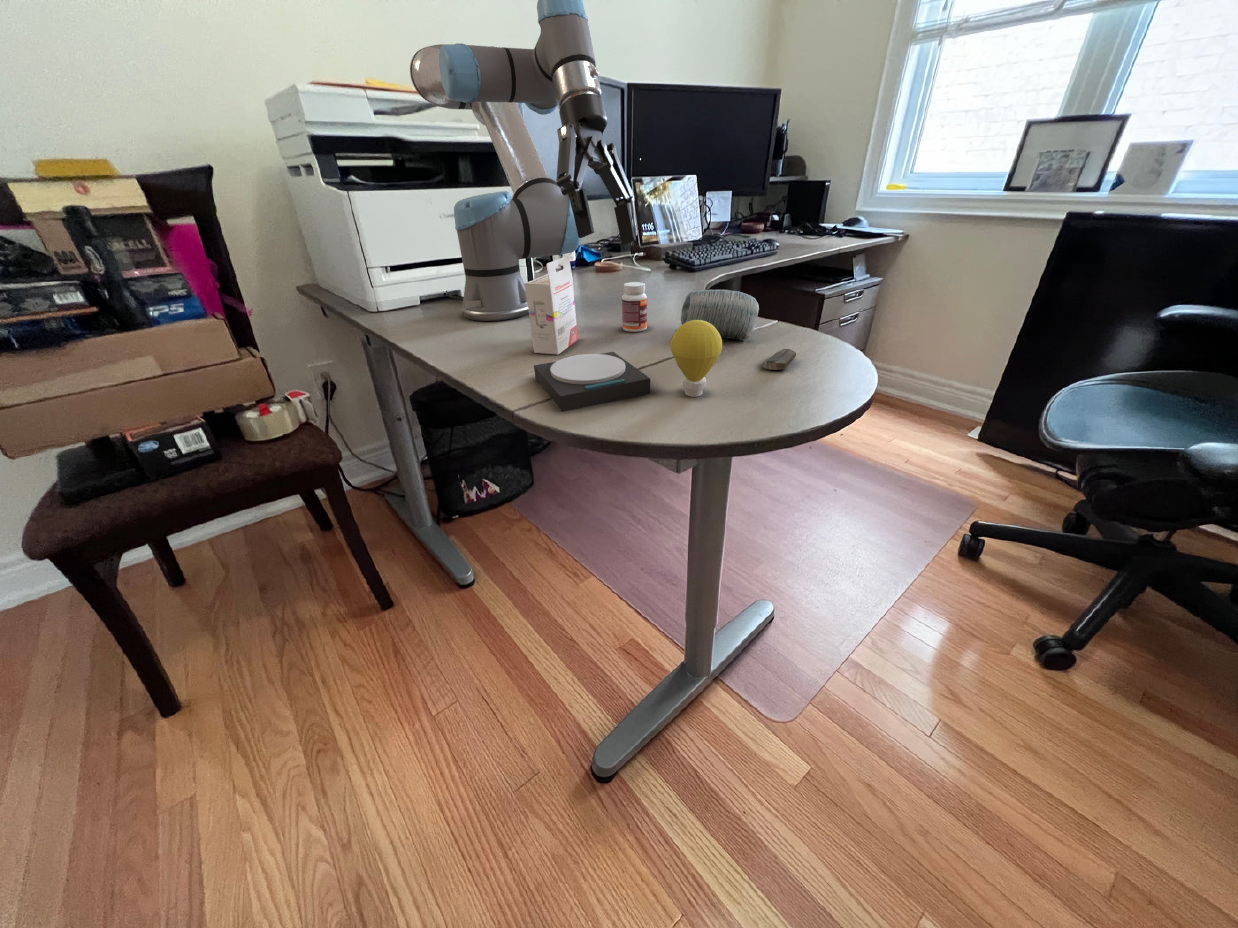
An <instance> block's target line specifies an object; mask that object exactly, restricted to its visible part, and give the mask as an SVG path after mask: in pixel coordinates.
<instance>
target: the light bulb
mask: <svg viewBox="0 0 1238 928" xmlns="http://www.w3.org/2000/svg"><path fill="white" fill-rule="evenodd" d="M722 349H723V338H722V337H721V336H720V334H719V332H718V331H717V329H716V328H715V327H714V326H713V325H712V324H710V323H708V322H706V321H703V320H692V321H688V322H686V323H684V324H683V325H682V324H681V325H680V326H679V327H678V328H677V329H676V330H675V331H674V334H673V335H672V337H671V341H670V351H671V352H670V353H671V354H672V357H673V358H674V361H675V363H676V366H677V367H678V368H679V370H680V371H681V373H682V374H683V376H684V377H682V381H681V383H682V385H681V386H682V388H684V389H685V390H684V394H685V395H686V396H688V397H692V398H693V397H695V398H697V397H700V396H702V395H703V389H705V388H706V387H707V378H706V377H705V376H706V375H707V374H708V373H709V371H711V369H712V368H713V366H714V365H715V364H716V362H717V360H718V358H719V357H720V355H721V353H722Z"/></svg>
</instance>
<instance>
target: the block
mask: <svg viewBox="0 0 1238 928" xmlns="http://www.w3.org/2000/svg"><path fill="white" fill-rule="evenodd" d="M796 356H797V352H796V351H794V350H792V349H790V348H782V349H780V350H779V351H776V352H775V353H773V354H772V355H771V356H770V357H768V358H767V359H766V360H764V361H763V362H762V368H764V369H766V370H770V371H779V370H785V369H787V368H788V367H789V365H791V364H792V362H793V361H794V360H795V359H796Z"/></svg>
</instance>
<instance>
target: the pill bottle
mask: <svg viewBox="0 0 1238 928" xmlns="http://www.w3.org/2000/svg"><path fill="white" fill-rule="evenodd" d="M621 314H622V317H621V318H622V319H621V320H622V329H623V331H625V332H631V333H638V332H642V331H643V332H644V331H645V330H647V328H648V296H647V294H646V284H645V283H644V282H639V281H629V282H625V283H624V284H623V294H622V296H621Z"/></svg>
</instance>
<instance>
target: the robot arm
mask: <svg viewBox="0 0 1238 928" xmlns="http://www.w3.org/2000/svg"><path fill="white" fill-rule="evenodd" d="M536 11H537V22H538V23H537V24H538V25H539V28H540V34H539V37H538V39H537V41H536V43H535V46H534V48H522V47H521V48H520V47H519V48H517V47H503V46H502V47H500V46H491V45H490V46H487V45H476V44H475V45H474V44H465V43H451V44H450V43H449V44H448V43H447V44H445V43H443V44H442V43H440V44H432V45H428V46H425V47H422V48H420V49H418V50H417V51H416V52H415V53H414V54H413V56H412V58H411V60H410V63H409V64H410V65H409V76H410V80H411V83H412V85H413V87H414V89H415V92H417V93H418V95H419V96H420V97H421V98H422V99H423V100H425V101H426V102H428V103H430V104H432V105H434V106H437V107H439V108H442V109H443V108H444V109H448V110H472V114H473V115H474V117H475V119H476V120H477V121H478V123H480V124H481V125H483V126H485V129H486V130H487V132H488V136H489V137H490V140H491V143H492V145H493V147H494V150H495V152H496V154H497V157H498V159H499V162H500V164H501V166H502V169H503V171H504V174H505V176H506V179H507V181H508V183H509V186H510V188H511V191H512V193H513V194H512V195H511V194H510V192H509V191H508V190H502V191H494V192H488V193H483V194H478V195H473V196H469V197H466V198H465V197H464V198H462V199H460V200H458V201H456V203H455V204H454V206H453V215H454V228H455V231H456V234H457V239H458V244H459V250H460V255H461V261H462V266H463V273H464V277H465V282H464V290H463V297H462V296H456V295H452V294H451V293H449V294H446V293H444V294H443V293H442V296H447V297H448V298H449V299H451V300H458V301H462V307H461V308H462V313H463V317H465V318H466V319H468V320H473V321H477V322H478V321H479V322H480V321H481V322H496V321H507V320H513V319H517V318H521V317H524V316H526V315H529V311H528V305H527V297H526V291H525V285H524V283H525V282H524V280H523V279H524V278H523V277H522V274H521V268H520V260H525V259H526V260H527V259H535V258H543V257H551V256H559V257H560V256H563V255H566V254H572V253H574V252H576V251H577V249H578V248H579V246H580V243H581V240H582V238H583V239H584V238H585V237H588V236H590V235H592V234H595V228H594V223H593V219H592V215H591V210H590V205H589V200H588V197H587V191H586V189H585V188H582V185H583V182H584V177H585V174H586V171H587V168H590V169H592V170H593V172H594V173H595V174H596V175H598V176H599V177H600V179H601V181H602V183H603V185H604V186H605V188H606V190H607V191H608V194H609V195H610V197H611V199H612V201H613V202H614V204H615V207H613V210H614V214H615V219H616V224H617V229H618V234H619V239H620V245H621V246H625V245H628V244H630V243H633V242H636V241H637V238H636V233H635V229H634V224H633V218H632V214H631V208H630V204H631V203H634V201H635V196H634V193H633V191H632V188H631V186H630V183H629V180H628V178H627V176H626V173H625V171H624V168H623V166H622V164H621V161H620V157H619V155H618V151H617V148H616V145H615V143H614V142H613V141H611V142H610V143H606V141H605V138H604V135H603V134H604V131H605V130H606V128H607V126H608V117H607V111H606V107H605V103H604V100H603V98H602V96H603V95H602V93H603V92H602V89H601V85H600V79H599V74H600V72H599V70H598V68H597V65H596V58H595V52H594V46H593V42H592V37H591V32H590V26H589V18H588V16H587V15H586V9H585V6H584V2H583V0H537V2H536ZM522 104H524V105H525V106H526V107H527V108H528V109H529V110H531V111H532V112H535V113H536V114H538V115H541V116H546V115H549V114H551V113H554V111H555V110H556V109H557V108H558V110H559V112H558V113H559V118H560V123H561V126H560V127H559V128H557V130H556V131H557V138H558V151H557V152H558V154H557V165H556V166H557V167H556V179H553V178H551V177H549V175H548V173H547V171H546V168H545V165H544V163H543V161H542V159H541V157H540V154H539V152H538V150H537V147H536V145H535V143H534V140H533V138H532V136H531V133H530V131H529V129H528V126H527V124H526V122H525V120H524V117H523V115H522V112H521V111H520V108H521V106H522Z"/></svg>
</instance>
